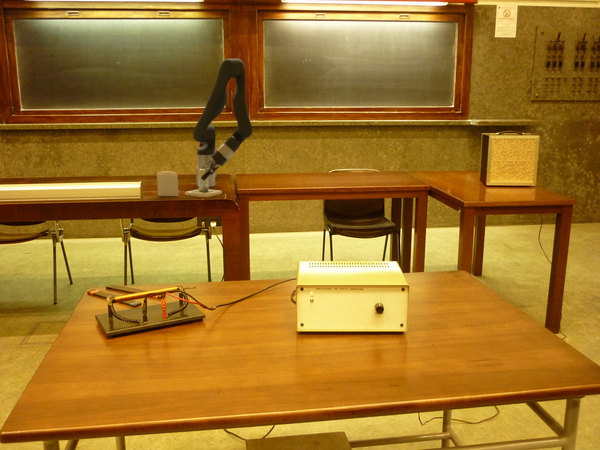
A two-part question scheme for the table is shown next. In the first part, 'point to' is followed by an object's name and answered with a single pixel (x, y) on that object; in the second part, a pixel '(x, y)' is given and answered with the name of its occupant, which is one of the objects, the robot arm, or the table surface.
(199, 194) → the board
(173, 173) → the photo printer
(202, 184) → the canister
